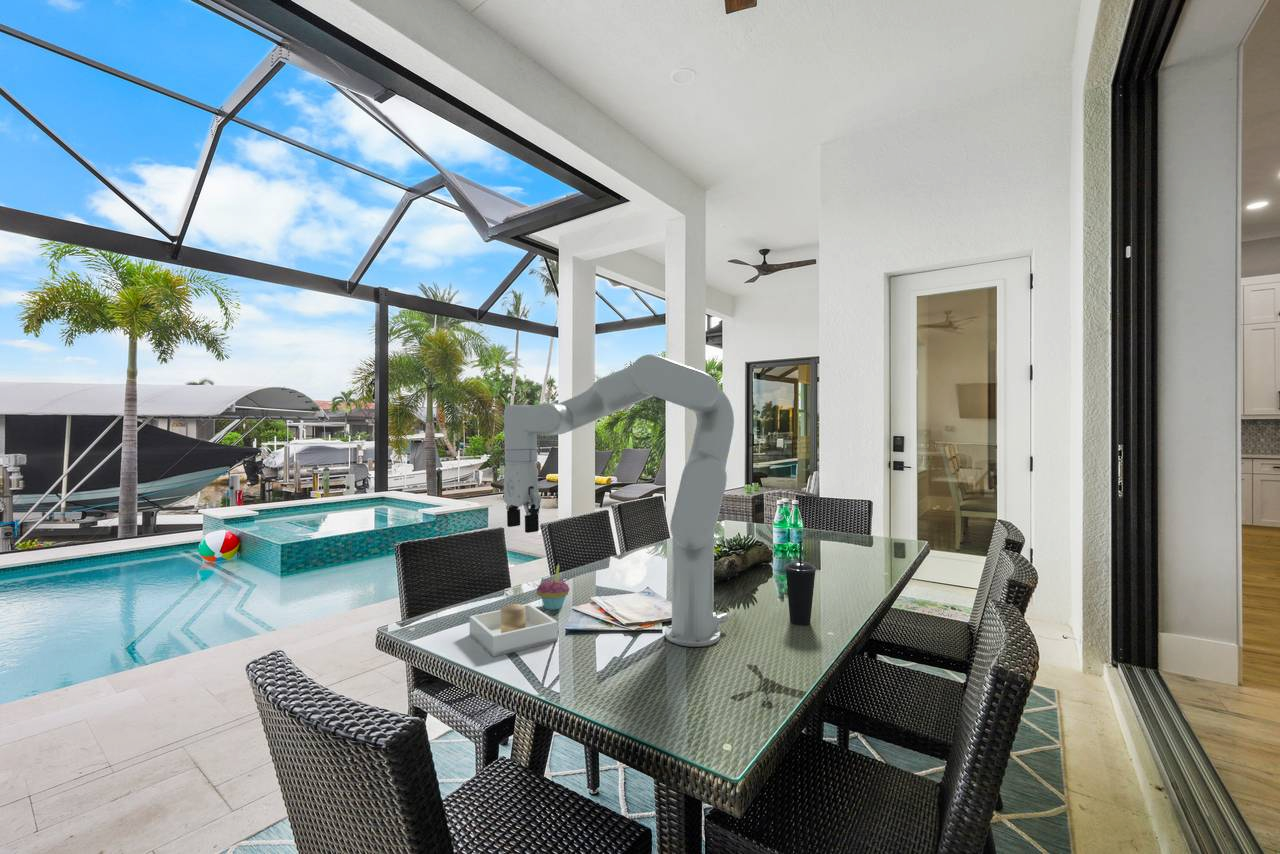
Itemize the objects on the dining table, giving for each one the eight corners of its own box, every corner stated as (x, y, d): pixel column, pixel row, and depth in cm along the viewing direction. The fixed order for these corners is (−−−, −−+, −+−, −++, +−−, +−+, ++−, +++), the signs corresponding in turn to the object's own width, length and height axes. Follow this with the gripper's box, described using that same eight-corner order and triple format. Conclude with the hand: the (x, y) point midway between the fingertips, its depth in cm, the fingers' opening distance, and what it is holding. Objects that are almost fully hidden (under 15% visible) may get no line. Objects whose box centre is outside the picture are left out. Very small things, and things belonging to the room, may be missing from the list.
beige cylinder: (519, 628, 131) (519, 602, 131) (529, 635, 127) (529, 608, 127) (497, 633, 128) (497, 606, 128) (506, 640, 124) (506, 613, 124)
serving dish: (529, 621, 138) (529, 603, 138) (557, 640, 126) (557, 621, 125) (469, 634, 129) (469, 616, 129) (493, 657, 117) (493, 636, 117)
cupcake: (575, 605, 150) (575, 560, 150) (554, 614, 143) (554, 567, 143) (551, 599, 154) (551, 556, 154) (529, 608, 147) (529, 563, 147)
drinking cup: (782, 624, 136) (782, 542, 136) (786, 614, 143) (786, 536, 143) (814, 629, 133) (815, 545, 133) (817, 619, 140) (818, 539, 140)
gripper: (491, 456, 137) (493, 526, 137) (522, 459, 123) (524, 536, 123) (520, 454, 141) (521, 522, 142) (552, 457, 128) (554, 532, 128)
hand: (522, 528), depth 132 cm, fingers open, 9 cm apart
